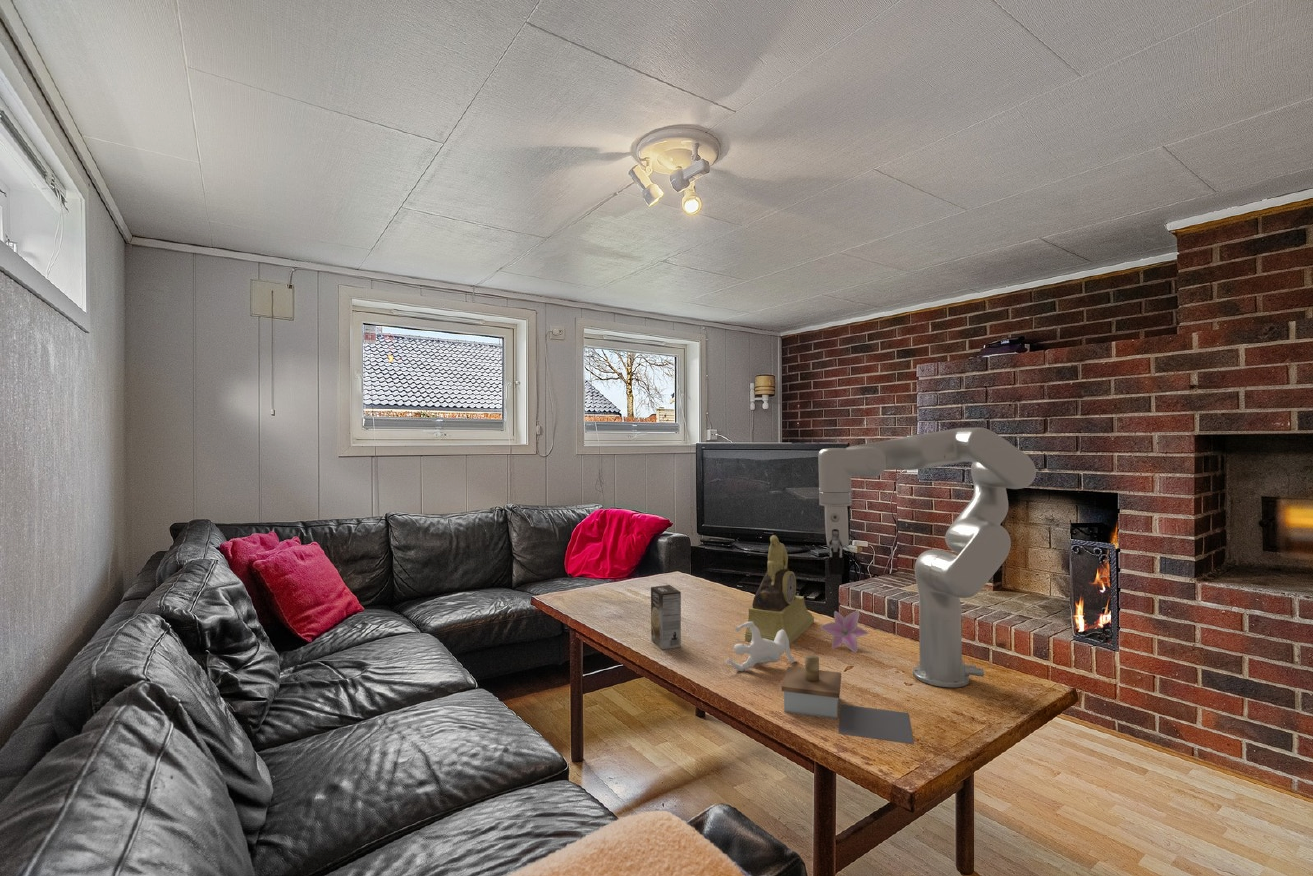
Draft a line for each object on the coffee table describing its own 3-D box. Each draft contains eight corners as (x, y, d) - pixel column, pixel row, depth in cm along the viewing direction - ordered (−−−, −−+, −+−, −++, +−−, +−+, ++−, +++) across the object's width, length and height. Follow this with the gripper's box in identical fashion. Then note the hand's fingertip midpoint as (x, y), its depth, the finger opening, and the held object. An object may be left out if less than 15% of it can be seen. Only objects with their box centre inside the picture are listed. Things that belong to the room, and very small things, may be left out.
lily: (815, 645, 177) (815, 621, 173) (840, 623, 183) (840, 600, 178) (850, 669, 168) (851, 644, 164) (875, 645, 174) (876, 621, 170)
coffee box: (650, 640, 180) (649, 586, 180) (669, 637, 182) (669, 584, 182) (661, 650, 171) (661, 593, 171) (682, 647, 173) (681, 591, 174)
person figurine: (763, 614, 169) (736, 618, 154) (806, 632, 161) (781, 638, 146) (751, 659, 168) (722, 668, 153) (793, 679, 161) (767, 690, 146)
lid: (841, 677, 138) (840, 650, 138) (839, 698, 126) (839, 669, 126) (788, 671, 142) (787, 645, 142) (781, 691, 130) (781, 663, 130)
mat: (908, 714, 129) (908, 713, 129) (914, 746, 116) (914, 744, 116) (840, 706, 134) (840, 704, 134) (838, 735, 121) (838, 733, 121)
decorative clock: (787, 648, 172) (786, 543, 173) (745, 641, 179) (744, 540, 179) (814, 622, 197) (813, 530, 197) (776, 616, 203) (775, 528, 203)
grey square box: (838, 699, 137) (838, 677, 137) (837, 720, 127) (836, 697, 127) (789, 693, 141) (789, 672, 141) (784, 713, 131) (784, 690, 131)
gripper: (851, 502, 136) (853, 578, 136) (851, 495, 153) (853, 563, 153) (817, 502, 139) (818, 576, 138) (821, 495, 155) (822, 562, 155)
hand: (836, 569), depth 146 cm, fingers open, 9 cm apart
